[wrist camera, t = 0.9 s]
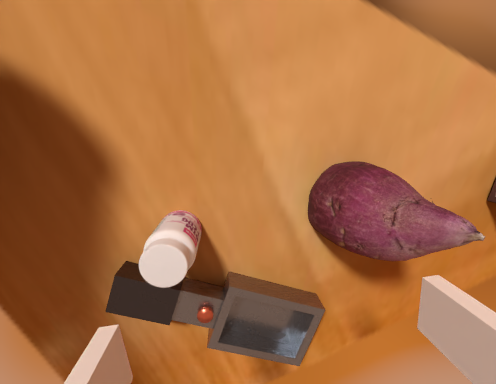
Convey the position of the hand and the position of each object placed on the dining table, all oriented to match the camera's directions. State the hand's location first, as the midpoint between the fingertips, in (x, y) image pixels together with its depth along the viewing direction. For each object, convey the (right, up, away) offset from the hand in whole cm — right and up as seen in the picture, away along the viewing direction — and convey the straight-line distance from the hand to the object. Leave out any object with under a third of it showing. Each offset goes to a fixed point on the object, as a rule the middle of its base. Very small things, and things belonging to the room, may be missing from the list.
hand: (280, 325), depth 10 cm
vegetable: (+11, +5, +19) cm, 22 cm away
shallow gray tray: (-5, -8, +20) cm, 22 cm away
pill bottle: (-9, +2, +18) cm, 20 cm away
